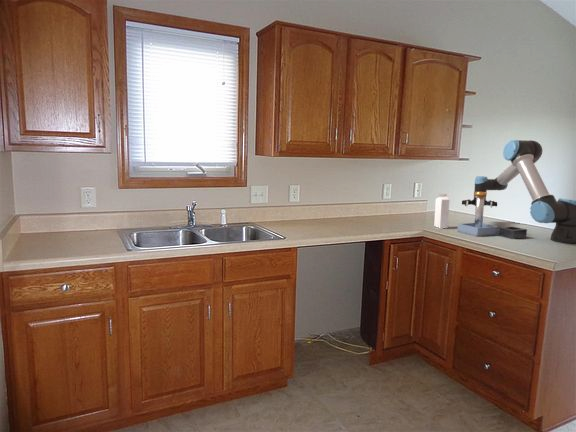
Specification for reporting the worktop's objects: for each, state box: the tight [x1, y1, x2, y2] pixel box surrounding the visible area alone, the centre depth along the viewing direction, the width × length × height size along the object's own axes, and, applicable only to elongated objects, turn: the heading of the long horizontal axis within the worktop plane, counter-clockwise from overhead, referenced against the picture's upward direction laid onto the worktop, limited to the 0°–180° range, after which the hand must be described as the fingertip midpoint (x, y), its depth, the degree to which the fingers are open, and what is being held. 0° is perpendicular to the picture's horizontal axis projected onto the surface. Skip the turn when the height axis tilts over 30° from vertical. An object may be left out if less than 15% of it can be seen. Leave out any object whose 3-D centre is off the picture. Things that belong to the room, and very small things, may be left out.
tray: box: [457, 222, 500, 238], centre depth 254 cm, size 16×16×5 cm
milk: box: [433, 193, 450, 228], centre depth 270 cm, size 6×6×22 cm
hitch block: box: [498, 226, 528, 240], centre depth 244 cm, size 10×10×5 cm
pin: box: [473, 192, 488, 228], centre depth 252 cm, size 6×6×24 cm
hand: (479, 204), depth 257 cm, fingers open, 13 cm apart
